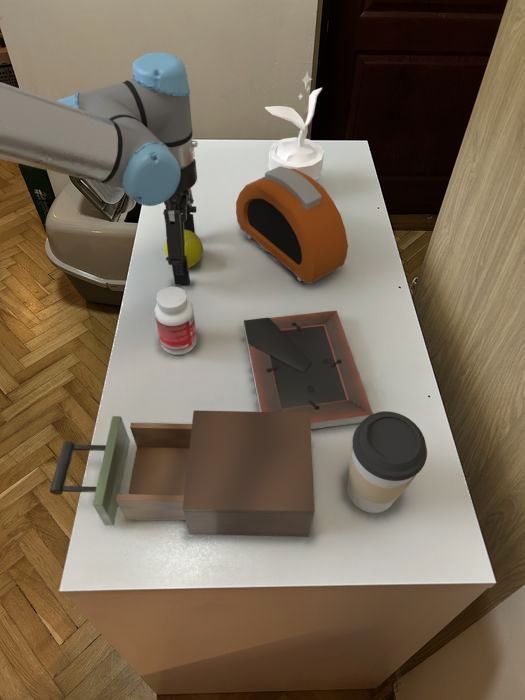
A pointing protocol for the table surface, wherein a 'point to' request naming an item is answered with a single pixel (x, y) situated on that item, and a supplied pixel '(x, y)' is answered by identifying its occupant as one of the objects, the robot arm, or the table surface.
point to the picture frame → (306, 368)
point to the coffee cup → (384, 460)
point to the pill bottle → (175, 321)
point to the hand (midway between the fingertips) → (185, 261)
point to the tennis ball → (191, 248)
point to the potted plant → (297, 140)
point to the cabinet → (249, 474)
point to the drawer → (135, 471)
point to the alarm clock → (294, 222)
